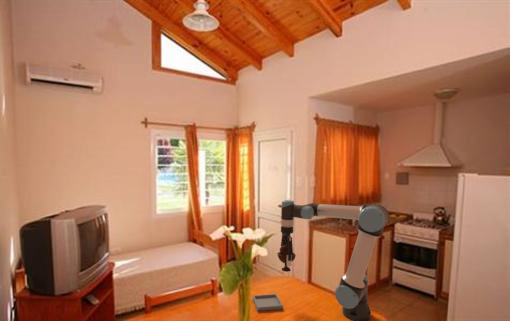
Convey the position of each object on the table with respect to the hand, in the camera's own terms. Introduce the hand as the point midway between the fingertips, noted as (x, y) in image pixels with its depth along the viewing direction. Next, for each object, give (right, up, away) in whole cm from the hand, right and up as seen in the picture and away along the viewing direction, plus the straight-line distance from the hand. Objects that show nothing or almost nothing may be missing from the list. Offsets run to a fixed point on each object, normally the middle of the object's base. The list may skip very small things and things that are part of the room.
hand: (286, 262), depth 165 cm
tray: (-12, -25, -2) cm, 27 cm away
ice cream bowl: (0, -5, 0) cm, 5 cm away
